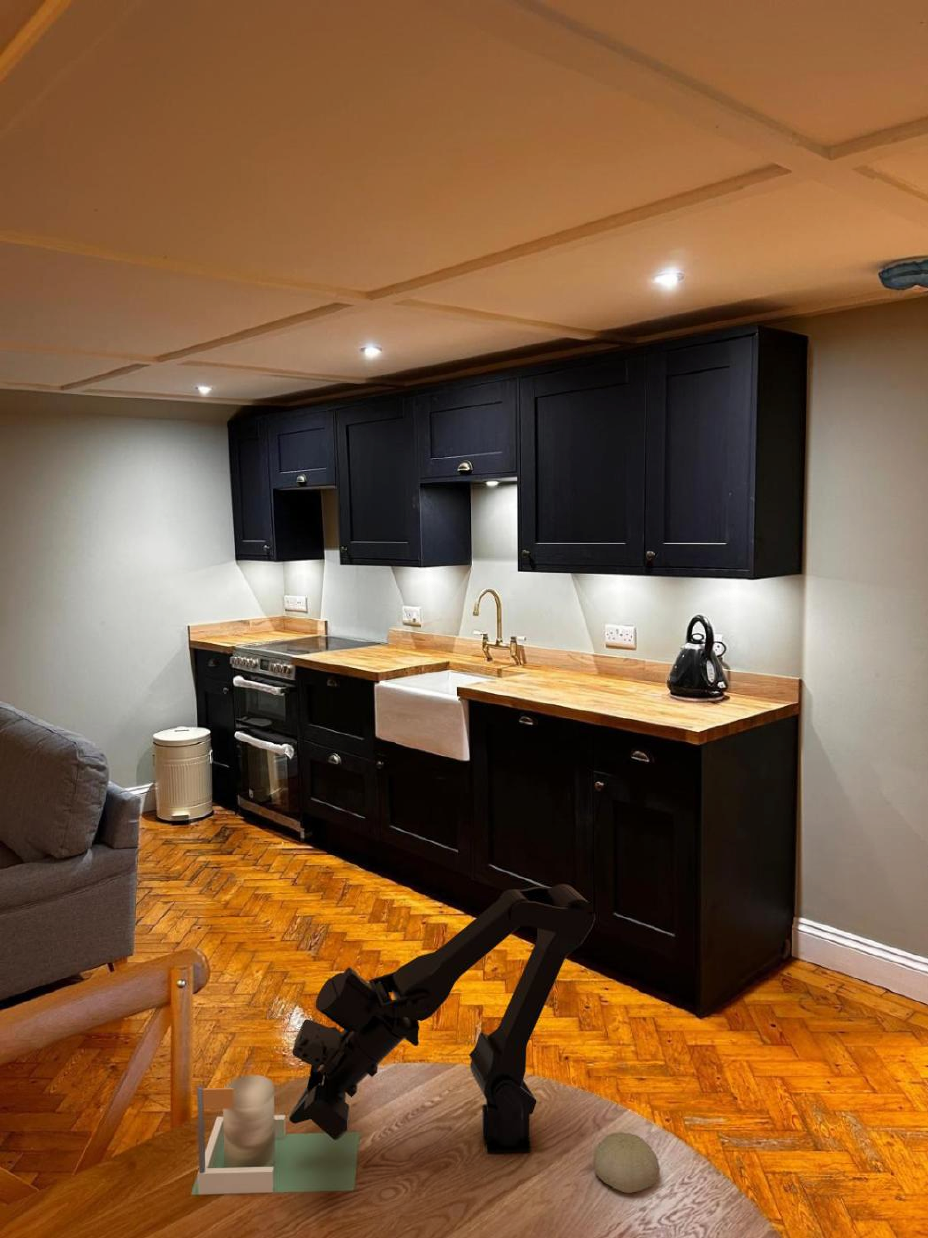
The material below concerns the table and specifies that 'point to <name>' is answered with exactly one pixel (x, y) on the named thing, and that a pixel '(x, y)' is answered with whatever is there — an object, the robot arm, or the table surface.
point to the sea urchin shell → (626, 1162)
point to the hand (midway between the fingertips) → (291, 1120)
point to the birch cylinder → (250, 1124)
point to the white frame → (213, 1177)
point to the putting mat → (310, 1163)
